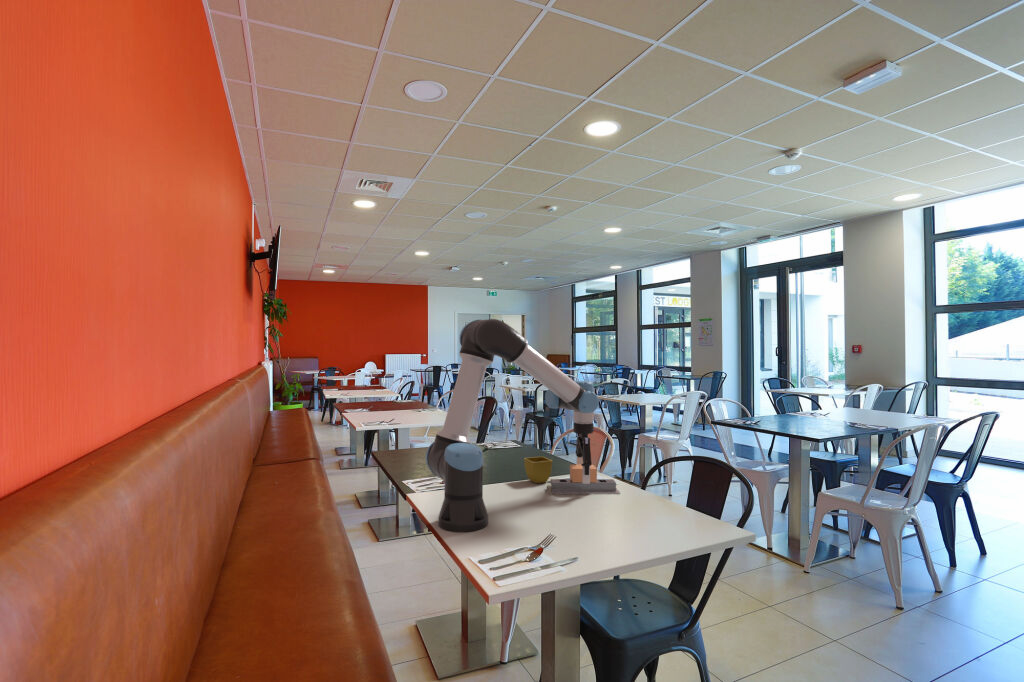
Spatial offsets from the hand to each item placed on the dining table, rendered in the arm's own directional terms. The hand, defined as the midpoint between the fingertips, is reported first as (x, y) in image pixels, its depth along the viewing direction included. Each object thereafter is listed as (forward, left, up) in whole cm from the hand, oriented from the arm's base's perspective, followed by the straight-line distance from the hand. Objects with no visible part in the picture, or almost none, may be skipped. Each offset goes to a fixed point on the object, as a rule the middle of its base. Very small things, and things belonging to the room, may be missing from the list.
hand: (583, 478), depth 196 cm
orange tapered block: (0, 0, -4) cm, 4 cm away
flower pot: (+12, +16, -5) cm, 21 cm away
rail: (0, 0, -4) cm, 4 cm away
